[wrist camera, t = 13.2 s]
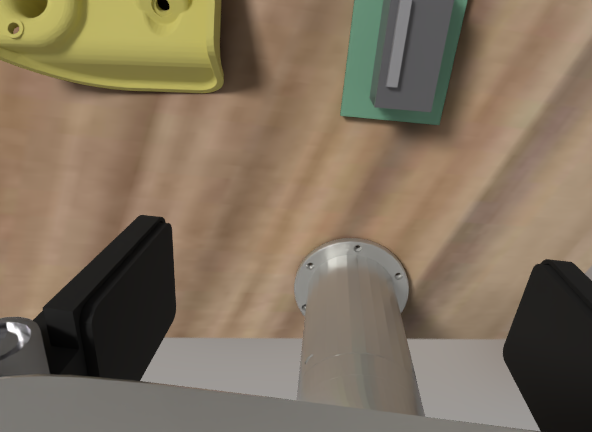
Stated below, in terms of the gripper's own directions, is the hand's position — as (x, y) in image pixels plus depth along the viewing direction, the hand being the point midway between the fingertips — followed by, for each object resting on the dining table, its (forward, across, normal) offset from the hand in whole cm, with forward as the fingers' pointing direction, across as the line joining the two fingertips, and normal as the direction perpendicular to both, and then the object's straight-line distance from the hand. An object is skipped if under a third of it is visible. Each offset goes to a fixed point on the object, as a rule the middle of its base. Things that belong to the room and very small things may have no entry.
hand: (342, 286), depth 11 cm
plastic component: (+31, +20, -6) cm, 37 cm away
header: (+30, -5, -5) cm, 31 cm away
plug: (+29, -5, -6) cm, 30 cm away
